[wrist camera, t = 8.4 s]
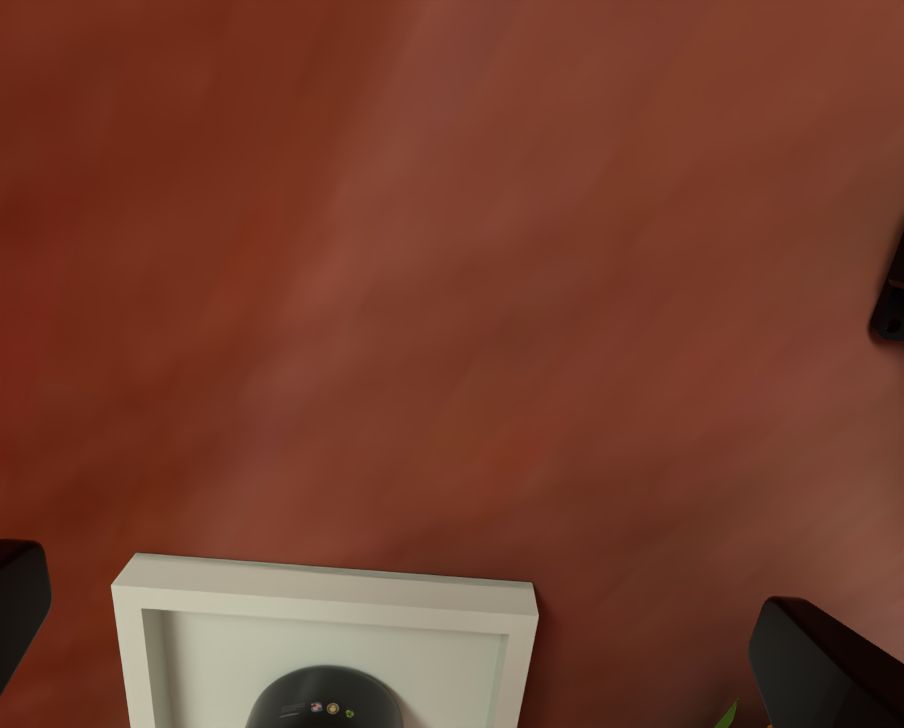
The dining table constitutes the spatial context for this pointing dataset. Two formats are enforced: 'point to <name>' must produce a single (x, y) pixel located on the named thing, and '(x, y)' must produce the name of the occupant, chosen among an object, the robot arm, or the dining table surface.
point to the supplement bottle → (325, 701)
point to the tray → (318, 639)
